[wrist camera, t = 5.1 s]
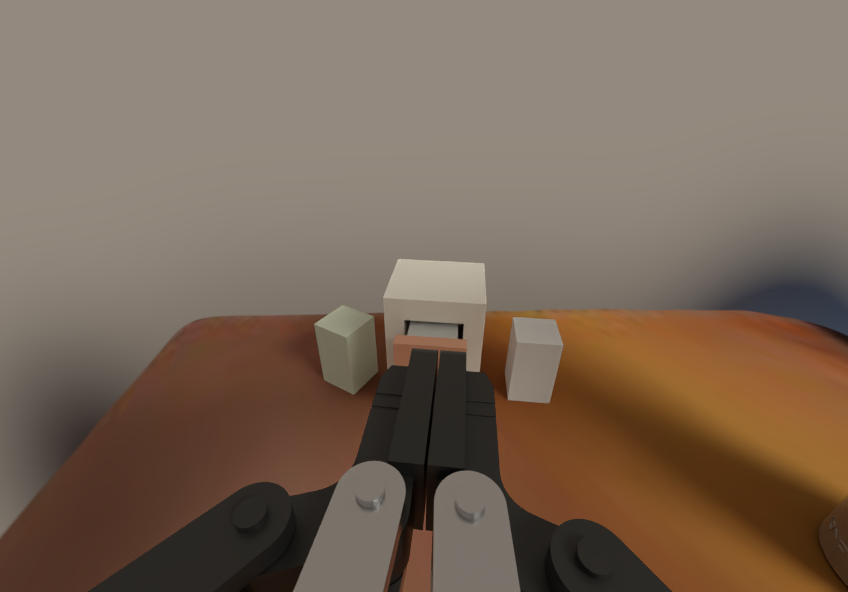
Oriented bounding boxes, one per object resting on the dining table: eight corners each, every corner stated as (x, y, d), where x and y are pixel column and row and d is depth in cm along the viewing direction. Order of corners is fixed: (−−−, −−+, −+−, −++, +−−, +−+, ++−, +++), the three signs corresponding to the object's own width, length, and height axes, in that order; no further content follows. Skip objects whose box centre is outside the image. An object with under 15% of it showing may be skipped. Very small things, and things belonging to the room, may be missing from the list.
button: (410, 335, 42) (409, 287, 39) (464, 338, 41) (468, 291, 38) (395, 396, 34) (393, 343, 31) (462, 402, 33) (467, 348, 30)
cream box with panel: (401, 360, 47) (398, 258, 40) (474, 366, 46) (484, 263, 39) (389, 410, 40) (382, 297, 33) (474, 417, 39) (486, 304, 32)
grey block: (542, 375, 45) (555, 319, 41) (549, 403, 41) (563, 345, 37) (504, 372, 46) (512, 316, 41) (507, 399, 42) (517, 342, 38)
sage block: (378, 371, 46) (373, 316, 41) (353, 394, 42) (346, 337, 38) (349, 358, 48) (342, 304, 43) (324, 380, 44) (313, 324, 40)
